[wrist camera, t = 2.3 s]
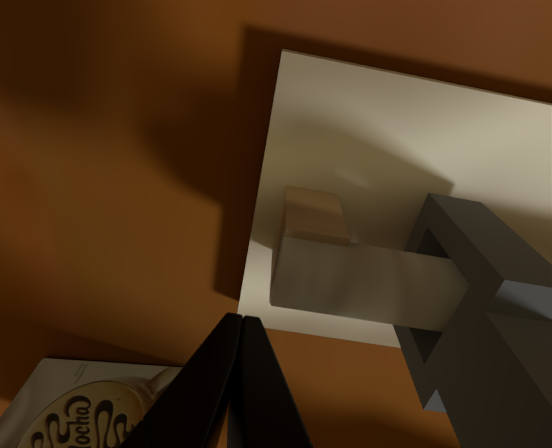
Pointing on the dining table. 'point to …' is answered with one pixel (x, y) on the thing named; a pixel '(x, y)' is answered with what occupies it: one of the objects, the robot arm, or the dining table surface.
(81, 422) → the coffee box
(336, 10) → the dining table surface
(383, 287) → the pipe stand
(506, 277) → the dark angular block
